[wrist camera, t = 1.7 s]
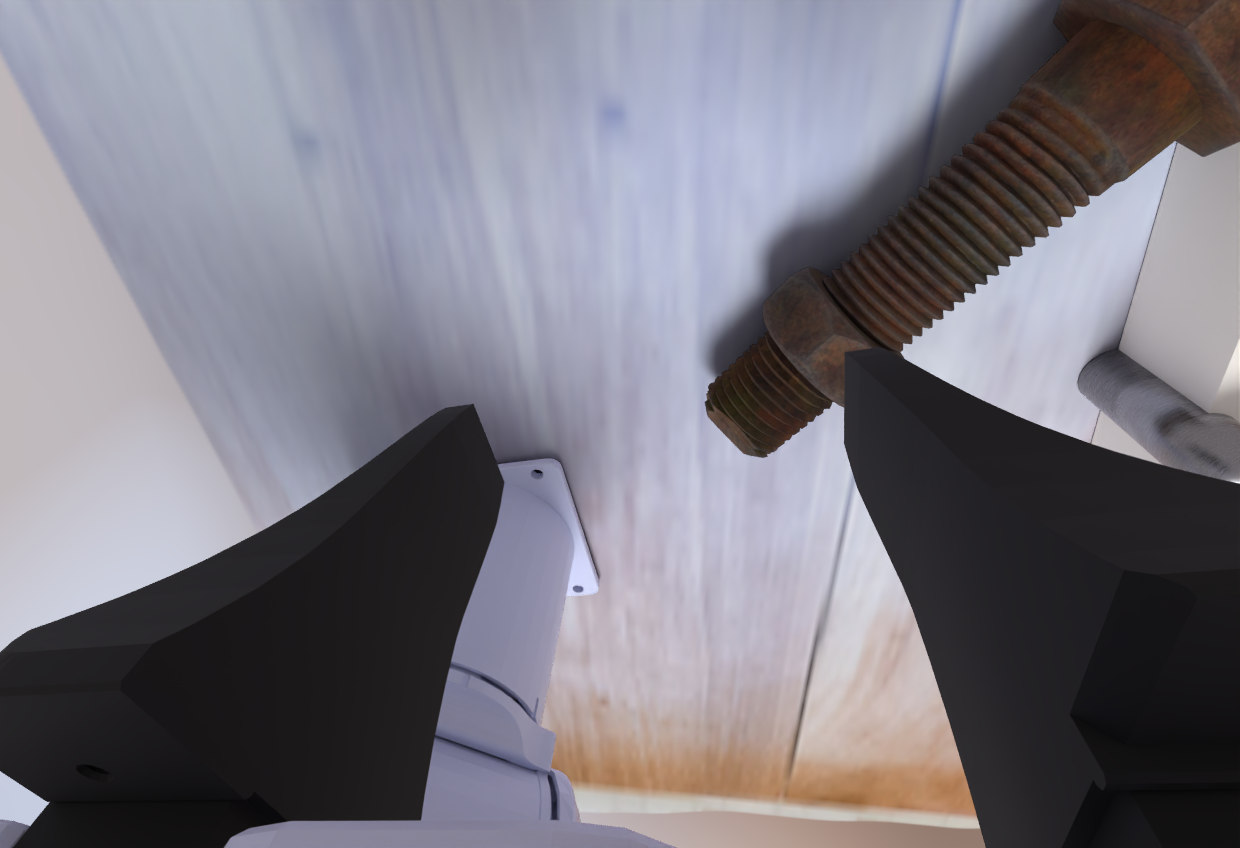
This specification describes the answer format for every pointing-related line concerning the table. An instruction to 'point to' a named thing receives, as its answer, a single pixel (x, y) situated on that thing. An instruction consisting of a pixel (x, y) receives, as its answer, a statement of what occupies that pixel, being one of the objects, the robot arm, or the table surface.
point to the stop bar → (1181, 330)
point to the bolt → (994, 200)
